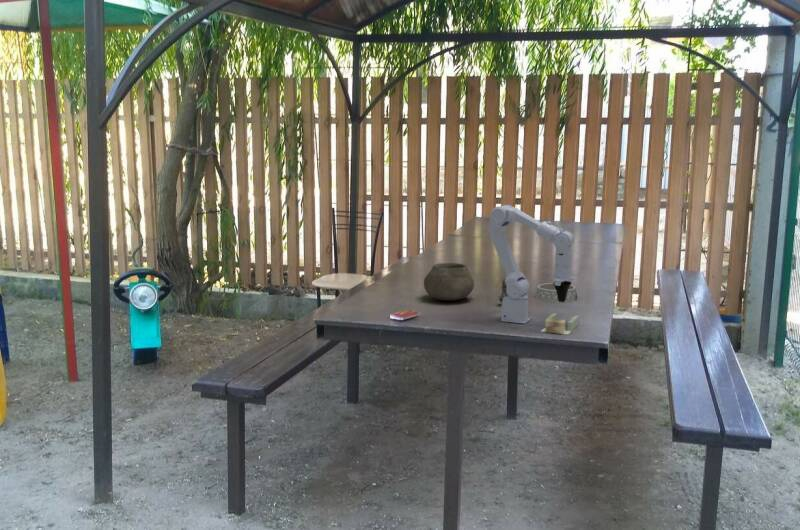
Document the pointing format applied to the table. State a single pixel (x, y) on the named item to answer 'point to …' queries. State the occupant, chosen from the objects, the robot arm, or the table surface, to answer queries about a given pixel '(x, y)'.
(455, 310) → the table surface
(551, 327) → the birch block
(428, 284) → the clay pot
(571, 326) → the rails
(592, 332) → the table surface
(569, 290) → the dog bowl
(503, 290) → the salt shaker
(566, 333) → the mat
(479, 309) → the table surface
